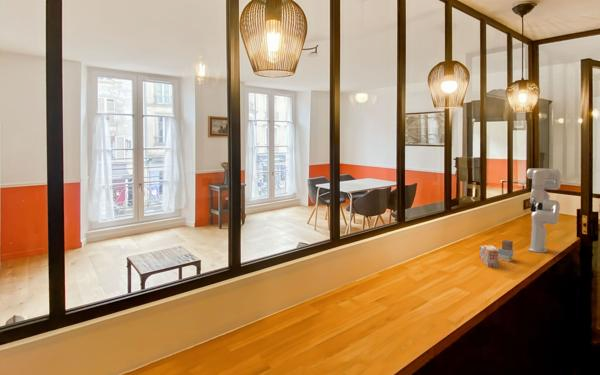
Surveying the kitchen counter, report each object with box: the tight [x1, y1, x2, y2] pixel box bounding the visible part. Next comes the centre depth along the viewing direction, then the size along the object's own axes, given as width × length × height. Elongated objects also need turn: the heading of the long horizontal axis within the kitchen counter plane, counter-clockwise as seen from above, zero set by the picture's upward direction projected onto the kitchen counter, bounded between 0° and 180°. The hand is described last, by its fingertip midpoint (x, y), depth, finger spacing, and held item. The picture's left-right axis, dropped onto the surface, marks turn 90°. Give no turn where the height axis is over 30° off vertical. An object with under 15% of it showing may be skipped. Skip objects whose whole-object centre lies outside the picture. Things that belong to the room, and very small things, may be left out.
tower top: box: [498, 247, 515, 256], centre depth 276 cm, size 7×7×4 cm
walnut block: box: [501, 239, 514, 250], centre depth 274 cm, size 5×5×6 cm
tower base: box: [498, 254, 514, 263], centre depth 276 cm, size 7×7×4 cm
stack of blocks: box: [479, 244, 499, 269], centre depth 269 cm, size 21×6×12 cm, turn 170°
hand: (536, 210), depth 274 cm, fingers open, 9 cm apart
